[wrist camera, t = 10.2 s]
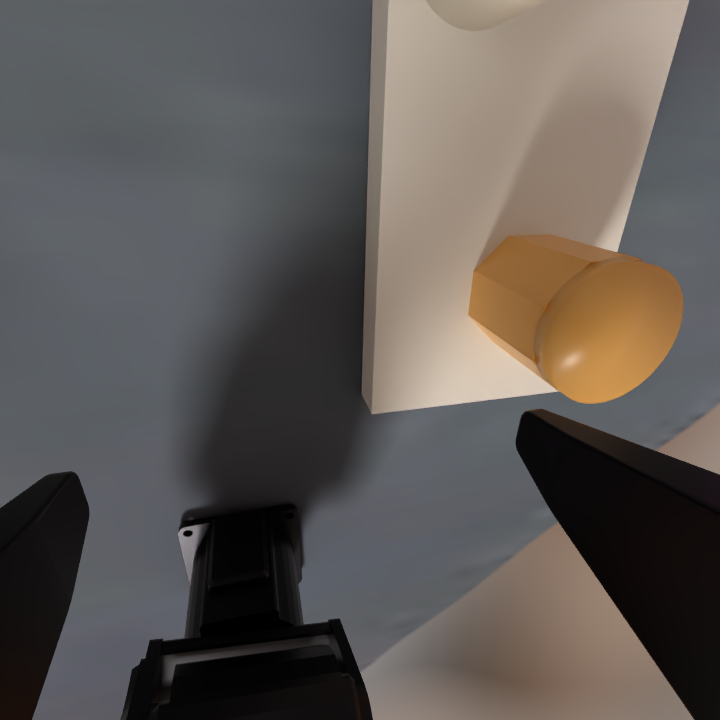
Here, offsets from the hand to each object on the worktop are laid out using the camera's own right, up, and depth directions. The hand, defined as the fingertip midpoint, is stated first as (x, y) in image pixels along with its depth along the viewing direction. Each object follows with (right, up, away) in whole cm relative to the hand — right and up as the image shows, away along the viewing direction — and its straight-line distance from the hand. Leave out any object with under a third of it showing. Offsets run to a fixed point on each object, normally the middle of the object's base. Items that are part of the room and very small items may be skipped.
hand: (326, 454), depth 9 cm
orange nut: (+8, +5, +11) cm, 15 cm away
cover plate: (+7, +10, +11) cm, 16 cm away
